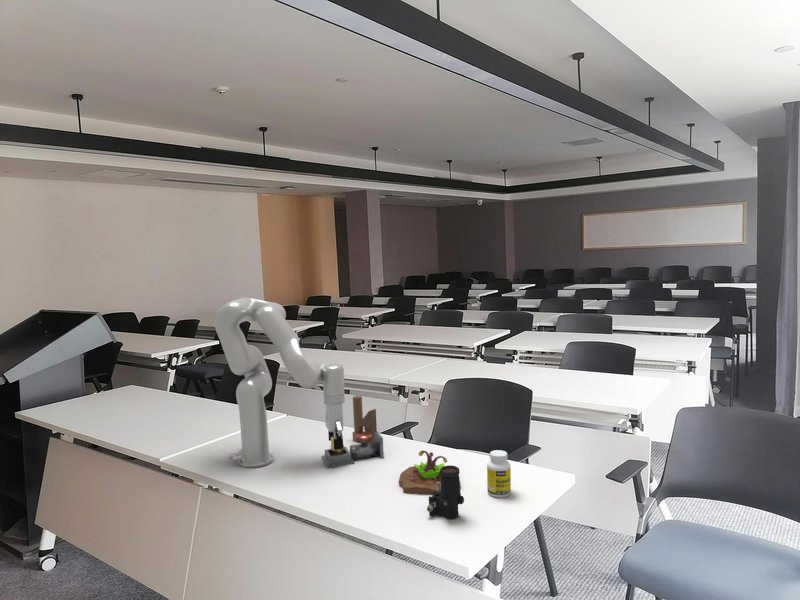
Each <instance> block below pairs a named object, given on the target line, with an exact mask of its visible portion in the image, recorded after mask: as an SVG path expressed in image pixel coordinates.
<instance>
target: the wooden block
mask: <svg viewBox="0 0 800 600" xmlns="http://www.w3.org/2000/svg"><path fill="white" fill-rule="evenodd" d="M352 408H353V409H352V410H353V412H352V414H353V429H354V431H353V432H352V441H353V442H357V443H359V444H362V440H357V439H356V435H357V434H359V433H370V434H372V438H371V439H369V440H366V443H370V442H375V439H374V432H378V431H377V430H378V428H377V426H378V424H377V409H376V408H374V409H371V410H368V412H367V413H366V414H365V416H363V397H362V396H361V395H353V396H352Z"/></svg>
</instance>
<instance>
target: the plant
mask: <svg viewBox="0 0 800 600" xmlns="http://www.w3.org/2000/svg"><path fill="white" fill-rule="evenodd" d="M424 454H426V458H427V459H426V461H425V463H424V462H422V461H421V462H420V464H415V463H414V464H413V466H409V467H407V468H406V469H404V470H403V471H402V472H401V473H400V474H399V479H398V486H400V487H401V488H402V491H403V494H408V495H420V496H421V495H422V496H423V495H429V496H430V495H431V496H433V492H434V491H435V490H437V482H440V487H441V474H440V469H441V468H442V467H444V466H445V464H447V462H448V459H447V458H446V457H445V456H442V455H438V456H436V457H435V458H433V457H434V452H428V451H427V450H420V451H419V452H418V456H419V457H422V456H423V455H424ZM439 459H442V460H443V463H440V464H437V463H436V462H437V461H438V460H439ZM440 489H441V488H440ZM440 491H441V490H440Z"/></svg>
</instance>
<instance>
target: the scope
mask: <svg viewBox="0 0 800 600" xmlns="http://www.w3.org/2000/svg"><path fill="white" fill-rule="evenodd" d="M440 474H441V487H440V482H437V490H435V491H434V492H433V495H431V496H430V495H429V496H428V505H427V507H426V510H427V512H429V513H428V514H429V516H430V517H435V516H438V517H442V518H445V519H447V520H456V519H458V518H459V505H463V504H464V502H465V497H464V496H463V495H462V494H461V493H462V492H461V481H460V468H459V467H458V466H456V465H444V467H442V468H441V469H440ZM440 488H441V489H440ZM440 490H441V491H440Z"/></svg>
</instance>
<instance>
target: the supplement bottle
mask: <svg viewBox="0 0 800 600" xmlns="http://www.w3.org/2000/svg"><path fill="white" fill-rule="evenodd" d="M489 459H490V460H488V462H487V463H486V477H487V479H486V481H487V482H486V483H487V484H486V485H487V489H486V490H487V494H488V495H489V496H491V497H494V498H506V497H508V496H510V495H511V491H512V489H511V487H512V485H511V481H512V480H511V470H512V469H511V463H510V462H509V461H508V452H507V451H505V450H500V449H499V450H498V449H496V450H495V449H494V450H492V451H490V452H489Z"/></svg>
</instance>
